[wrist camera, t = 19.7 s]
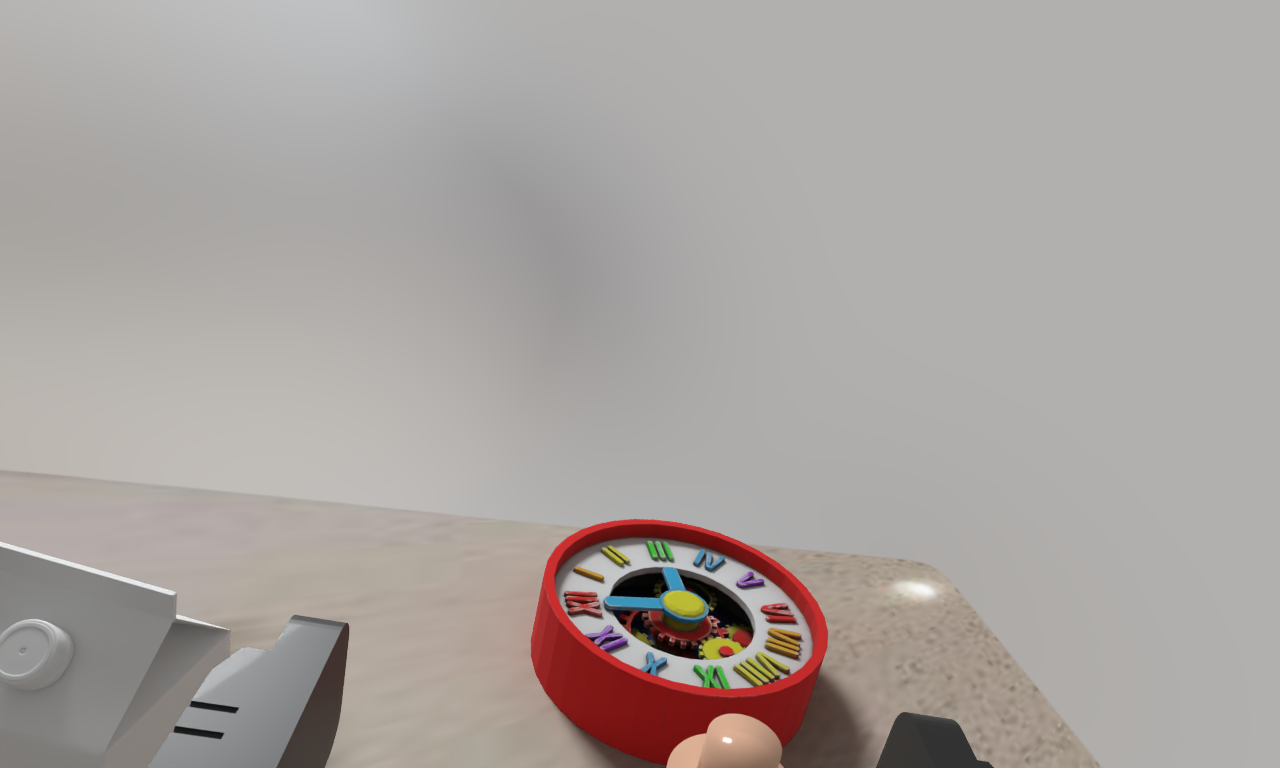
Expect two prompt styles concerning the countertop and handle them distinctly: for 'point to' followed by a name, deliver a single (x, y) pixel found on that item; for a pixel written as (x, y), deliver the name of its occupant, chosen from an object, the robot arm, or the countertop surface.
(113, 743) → the milk carton
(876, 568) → the countertop surface
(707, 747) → the peach bottle
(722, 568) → the toy clock
